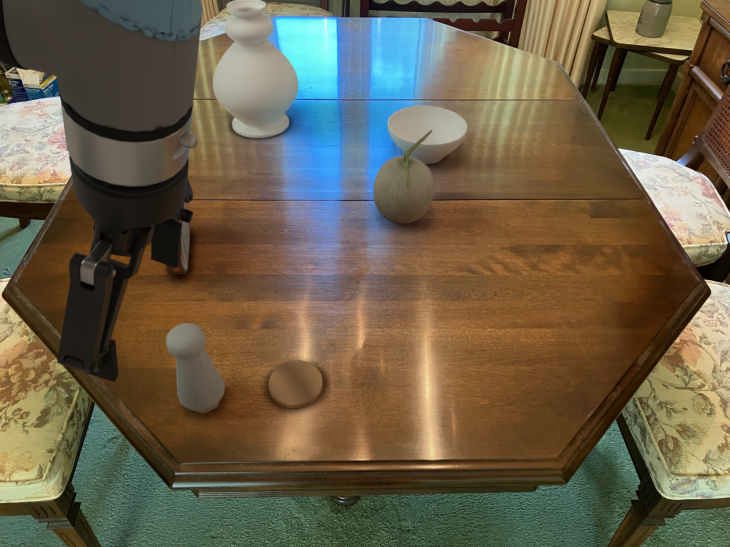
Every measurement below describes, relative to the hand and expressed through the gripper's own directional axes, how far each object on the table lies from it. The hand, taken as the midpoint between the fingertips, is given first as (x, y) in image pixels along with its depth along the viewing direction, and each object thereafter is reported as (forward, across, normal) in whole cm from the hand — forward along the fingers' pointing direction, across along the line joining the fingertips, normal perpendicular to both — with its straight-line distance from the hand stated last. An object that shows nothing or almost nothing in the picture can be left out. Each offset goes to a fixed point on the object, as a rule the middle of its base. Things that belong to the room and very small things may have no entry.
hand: (136, 313), depth 53 cm
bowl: (+20, +67, -30) cm, 76 cm away
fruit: (+18, +44, -28) cm, 55 cm away
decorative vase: (+32, +72, +5) cm, 79 cm away
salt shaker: (+20, +2, -8) cm, 21 cm away
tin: (+27, +27, +5) cm, 39 cm away
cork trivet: (+16, +6, -18) cm, 25 cm away
